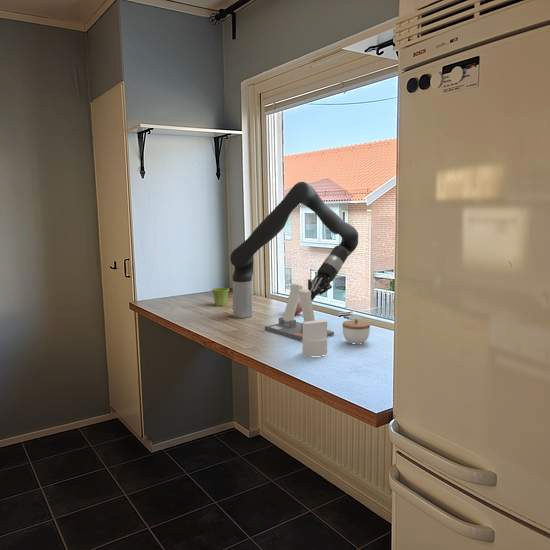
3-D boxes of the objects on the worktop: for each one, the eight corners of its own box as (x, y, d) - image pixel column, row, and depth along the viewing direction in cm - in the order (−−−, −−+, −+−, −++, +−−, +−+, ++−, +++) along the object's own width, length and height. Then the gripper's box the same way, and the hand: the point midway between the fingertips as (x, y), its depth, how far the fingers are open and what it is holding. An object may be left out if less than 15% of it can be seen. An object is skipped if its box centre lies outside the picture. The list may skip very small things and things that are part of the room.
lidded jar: (339, 344, 204) (339, 321, 203) (345, 337, 214) (346, 315, 213) (366, 347, 201) (367, 323, 199) (372, 340, 210) (372, 317, 209)
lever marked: (313, 332, 215) (306, 292, 210) (304, 330, 219) (298, 290, 214) (317, 330, 216) (310, 290, 211) (308, 328, 220) (302, 289, 215)
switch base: (305, 342, 208) (305, 331, 208) (264, 329, 228) (264, 319, 228) (333, 335, 218) (334, 324, 217) (292, 324, 238) (292, 314, 238)
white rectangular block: (309, 358, 187) (309, 325, 185) (298, 352, 195) (298, 320, 193) (331, 355, 190) (332, 323, 189) (319, 349, 199) (320, 318, 197)
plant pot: (220, 302, 287) (219, 287, 286) (233, 304, 282) (233, 288, 281) (208, 305, 280) (207, 289, 278) (221, 307, 274) (221, 291, 273)
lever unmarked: (288, 324, 226) (299, 285, 227) (281, 322, 230) (291, 283, 231) (292, 325, 227) (302, 286, 229) (284, 323, 231) (295, 285, 233)
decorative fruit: (306, 312, 261) (306, 292, 260) (305, 316, 253) (305, 295, 252) (287, 312, 262) (287, 292, 261) (285, 316, 254) (285, 295, 253)
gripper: (314, 260, 223) (293, 292, 217) (337, 263, 213) (314, 297, 207) (323, 272, 227) (302, 303, 222) (346, 275, 217) (324, 308, 211)
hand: (308, 300), depth 214 cm, fingers closed
